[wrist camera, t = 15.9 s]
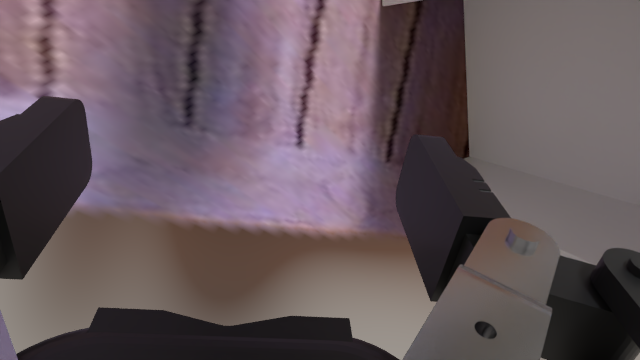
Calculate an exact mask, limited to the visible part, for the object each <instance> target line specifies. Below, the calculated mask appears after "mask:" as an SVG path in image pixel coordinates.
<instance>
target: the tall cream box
mask: <svg viewBox="0 0 640 360" xmlns="http://www.w3.org/2000/svg"><path fill="white" fill-rule="evenodd" d="M415 1H421V0H382V6H389V5H396V4H402V3H408V2H415ZM463 1H464V27H465V53H466V80H467V106H468V132H469V157H467V158H464V160H465V161H467V162H468V163H469V164H471V165H472V166H473V167H475V168H476V169H477V171H478V172H479V173H480V175H481V176H482V178H483V179H484V182H486V183H487V185H488V186H489V187H490V189H491V192H493V193H494V194H495V196H496V197H497V199H498V200H499V201H500V203H501V204H502V206H503V207H504V208H505V210H506V211H507V213H508V214H509V216H510V217H511V218H513V219H518V220H521V221H524V222H527V223H530V224H532V225H534V226H536V227H538V228H540V229H541V230H543V231H544V232H546V233H547V234H548V235H549V236H551V237H552V238H553V240H554V241H555V242H556V243H557V245H558V247H559V249H560V255H561V256H564V257H568V258H571V259H575V260H579V261H582V262H586V263H589V264H593V265H597V263H598V262H599V260H600V259H601V257H602V255H603V254H604V252H605V251H606V250H608V249H611V248H624V249H629V250H633V251H636V252H639V253H640V0H463Z"/></svg>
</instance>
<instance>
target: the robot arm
mask: <svg viewBox="0 0 640 360" xmlns="http://www.w3.org/2000/svg"><path fill="white" fill-rule="evenodd" d="M91 171H92V156H91V149H90V142H89V135H88V128H87V121H86V114H85V108H84V105H83V103H82V102H81V101H80V100H78V99H68V98H59V97H49V96H43V97H41V98H40V99H38V100H37V101H36V102H35V103H34V104H32V105H31V106H30V107H29V108H28V109H26V110H25V111H24V112H23V113H22V114H16V115H14V116H11V117H9V118H6V119H4V120H1V121H0V278H3V279H23V278H24V277H25V275H26V274H27V272H28V271H29V269H30V268H31V266H32V265H33V263H34V262H35V260H36V259H37V258H38V256H39V255H40V253H41V252H42V250H43V249H44V247H45V246H46V244H47V243H48V241H49V240H50V239H51V237H52V235H53V234H54V233H55V231H56V230H57V228H58V227H59V225H60V224H61V222H62V221H63V219H64V218H65V217H66V215H67V214H68V212H69V211H70V209H71V208H72V206H73V205H74V203H75V202H76V200H77V199H78V197H79V196H80V195H81V193H82V192H83V190H84V189H85V187H86V186H87V184H88V182H89V180H90V176H91ZM396 207H397V211H398V213H399V216H400V219H401V222H402V224H403V227H404V230H405V233H406V235H407V238H408V241H409V243H410V246H411V249H412V252H413V254H414V257H415V260H416V262H417V265H418V268H419V271H420V273H421V276H422V279H423V282H424V284H425V287H426V290H427V293H428V295H429V298H430V301H436V302H437V303H436V305H435V306H434V308H433V310H432V312H431V313H430V315H429V317H428V318H427V320H426V321H425V323H424V325H423V326H422V328H421V330H420V331H419V333H418V335H417V336H416V338H415V340H414V341H413V343H412V345H411V347H410V348H409V350H408V351H407V353H406V355H405V356H404V358H403V360H540V358H544V359H547V360H634V359H635V358H636V356H637V355H638V354H639V353H640V253H639V252H636V251H633V250H629V249H624V248H611V249H608V250H606V251H605V252H604V254H603V255H602V257H601V259H600V260H599V262H598V263H597V265H593V264H589V263H586V262H582V261H579V260H575V259H571V258H568V257H564V256H561V255H560V249H559V247H558V245H557V243H556V242H555V241H554V240H553V238H552V237H551V236H549V235H548V234H547V233H546V232H544V231H543V230H541V229H540V228H538V227H536V226H534V225H532V224H530V223H527V222H524V221H521V220H518V219H513V218H511V217H510V216H509V214H508V213H507V211H506V210H505V208H504V207H503V206H502V204H501V203H500V201H499V200H498V199H497V197H496V196H495V194H494V193H493V192H491V189H490V187H489V186H488V185H487V183H486V182H484V179H483V178H482V176H481V175H480V173H479V172H478V171H477V169H476V168H475V167H473V166H472V165H471V164H469V163H468V162H467V161H465V160H464V159H463V158H461V157H457V156H456V155H455V153H454V152H453V150H452V149H451V147H450V146H449V144H448V143H447V141H446V140H445V138H443V137H436V136H427V135H417V134H415V135H413V136H412V138H411V140H410V142H409V145H408V149H407V152H406V156H405V160H404V163H403V167H402V170H401V174H400V178H399V181H398V185H397V190H396ZM0 360H399V359H397V358H396V357H394V356H393V355H391V354H390V353H388V352H387V351H385V350H383V349H381V348H379V347H377V346H375V345H372V344H370V343H367V342H365V341H362V340H359V339H355V338H352V333H351V327H350V320H349V318H328V317H304V316H288V317H282V318H276V319H270V320H264V321H258V322H252V323H246V324H240V325H234V326H223V325H218V324H214V323H210V322H206V321H203V320H199V319H195V318H191V317H187V316H183V315H179V314H175V313H172V312H167V311H164V310H141V309H119V308H98V310H97V312H96V314H95V316H94V319H93V321H92V323H91V325H90V327H89V328H86V329H81V330H76V331H73V332H68V333H65V334H62V335H58V336H56V337H53V338H50V339H47V340H44V341H42V342H40V343H38V344H35V345H33V346H31V347H29V348H27V349H25V350H23V351H21V352H19V353H17V354H16V352H15V350H14V347H13V344H12V341H11V338H10V336H9V333H8V330H7V327H6V325H5V322H4V319H3V316H2V313H1V311H0Z"/></svg>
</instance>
